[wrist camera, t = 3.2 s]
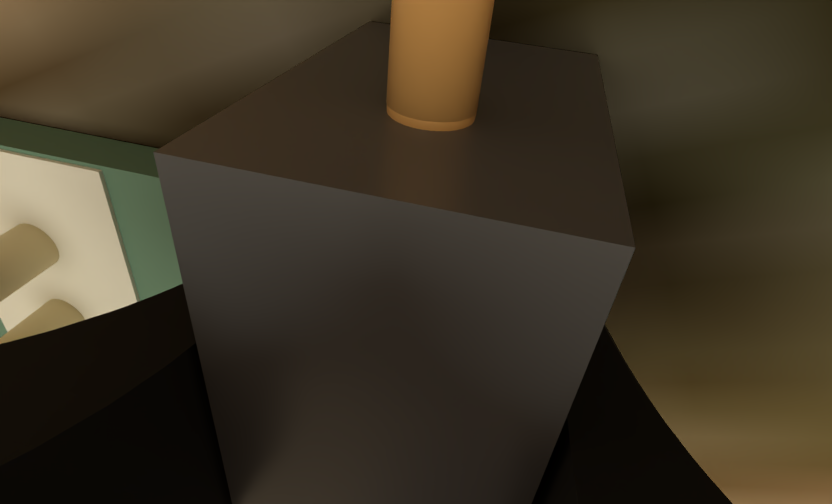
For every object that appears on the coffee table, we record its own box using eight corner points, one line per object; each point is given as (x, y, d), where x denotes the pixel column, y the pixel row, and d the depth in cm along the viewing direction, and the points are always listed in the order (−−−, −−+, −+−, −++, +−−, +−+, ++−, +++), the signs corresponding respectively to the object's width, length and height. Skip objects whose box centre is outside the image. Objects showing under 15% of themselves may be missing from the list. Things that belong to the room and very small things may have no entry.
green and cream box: (197, 155, 12) (15, 280, 8) (243, 426, 18) (151, 574, 14) (-93, 99, 13) (-374, 182, 9) (40, 370, 19) (-97, 492, 15)
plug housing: (679, -237, 7) (987, -621, 2) (501, 396, 14) (466, 664, 9) (379, -257, 7) (-13, -589, 2) (358, 360, 14) (252, 594, 9)
